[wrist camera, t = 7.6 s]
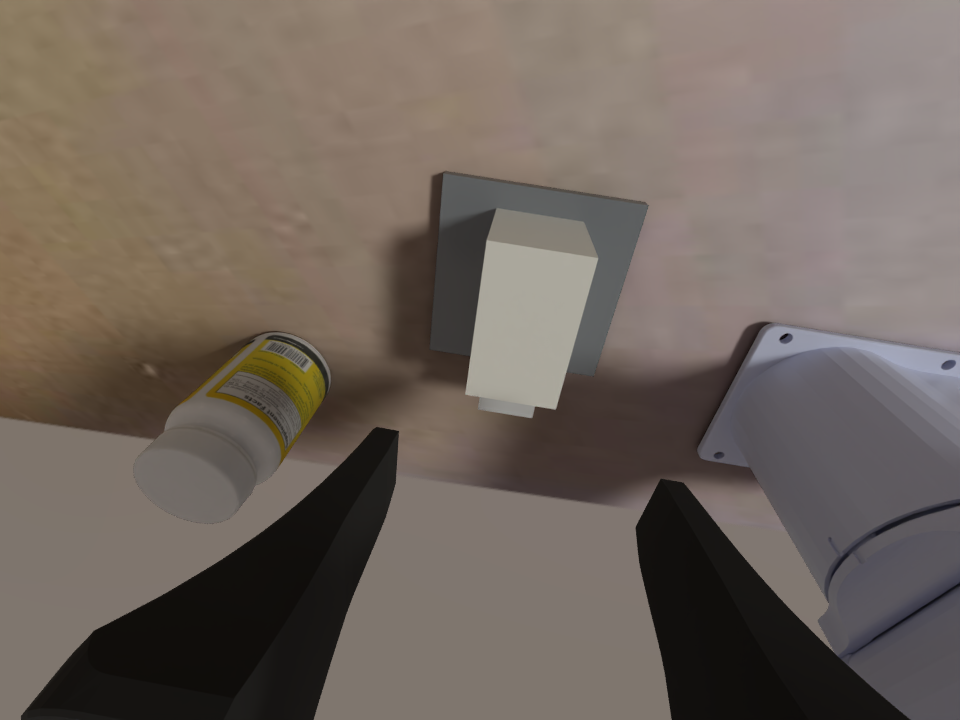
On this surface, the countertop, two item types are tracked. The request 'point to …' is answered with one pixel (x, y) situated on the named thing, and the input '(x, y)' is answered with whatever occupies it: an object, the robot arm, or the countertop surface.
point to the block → (528, 310)
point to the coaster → (465, 242)
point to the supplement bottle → (234, 429)
